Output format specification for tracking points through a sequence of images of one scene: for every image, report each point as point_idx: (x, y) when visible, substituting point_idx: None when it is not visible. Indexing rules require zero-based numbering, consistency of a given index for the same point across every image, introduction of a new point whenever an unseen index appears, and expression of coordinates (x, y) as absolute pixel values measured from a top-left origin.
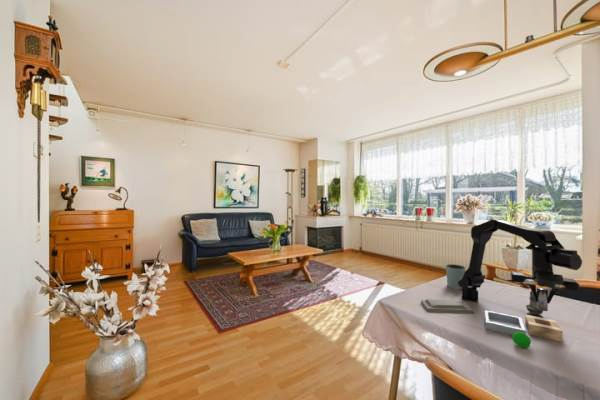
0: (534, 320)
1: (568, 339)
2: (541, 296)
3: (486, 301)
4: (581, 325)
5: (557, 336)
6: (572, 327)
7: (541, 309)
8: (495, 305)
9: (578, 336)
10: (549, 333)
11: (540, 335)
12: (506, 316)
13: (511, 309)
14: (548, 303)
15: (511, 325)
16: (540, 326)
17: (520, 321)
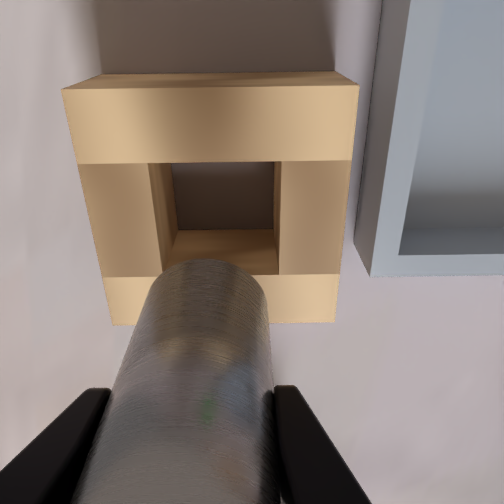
0: (283, 224)
1: (64, 158)
2: (196, 496)
3: (479, 487)
4: (9, 423)
5: (124, 79)
6: (48, 374)
7: (222, 267)
8: (439, 459)
9: (11, 256)
10: (182, 79)
11: (252, 75)
12: (485, 248)
13: (354, 448)
14: (101, 389)
15: (451, 153)
16: (253, 87)
17: (402, 175)
